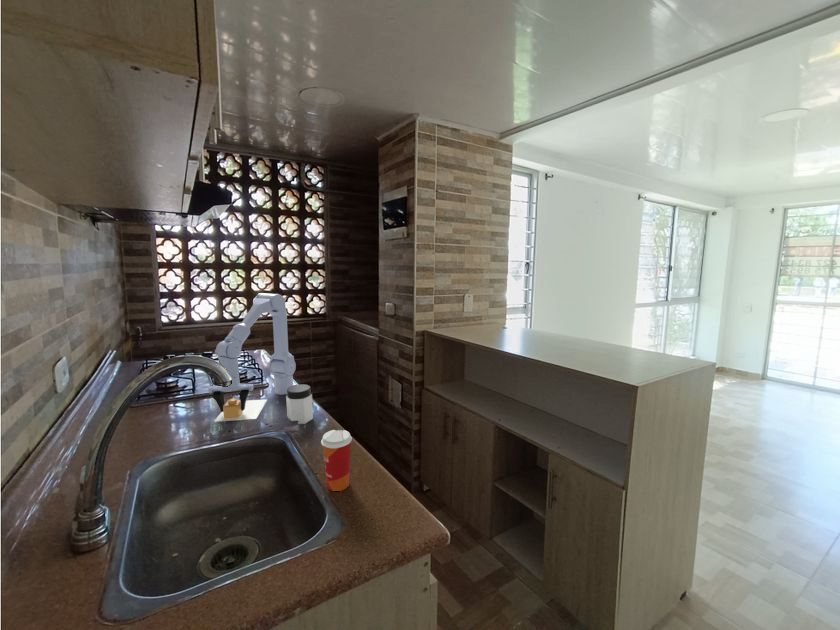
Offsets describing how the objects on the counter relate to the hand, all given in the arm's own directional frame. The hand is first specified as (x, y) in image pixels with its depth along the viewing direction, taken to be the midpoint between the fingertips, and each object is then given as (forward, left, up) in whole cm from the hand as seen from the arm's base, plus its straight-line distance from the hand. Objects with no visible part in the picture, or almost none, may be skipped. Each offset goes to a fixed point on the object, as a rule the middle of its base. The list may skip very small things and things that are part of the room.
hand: (233, 410), depth 136 cm
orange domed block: (0, 0, -2) cm, 2 cm away
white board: (-4, +2, -3) cm, 5 cm away
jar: (+5, +24, -3) cm, 25 cm away
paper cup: (+47, +39, -3) cm, 61 cm away
